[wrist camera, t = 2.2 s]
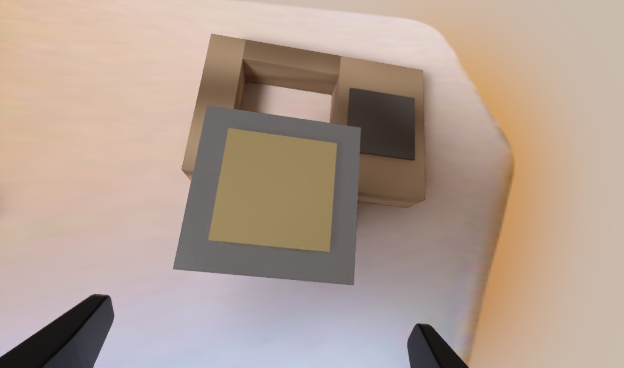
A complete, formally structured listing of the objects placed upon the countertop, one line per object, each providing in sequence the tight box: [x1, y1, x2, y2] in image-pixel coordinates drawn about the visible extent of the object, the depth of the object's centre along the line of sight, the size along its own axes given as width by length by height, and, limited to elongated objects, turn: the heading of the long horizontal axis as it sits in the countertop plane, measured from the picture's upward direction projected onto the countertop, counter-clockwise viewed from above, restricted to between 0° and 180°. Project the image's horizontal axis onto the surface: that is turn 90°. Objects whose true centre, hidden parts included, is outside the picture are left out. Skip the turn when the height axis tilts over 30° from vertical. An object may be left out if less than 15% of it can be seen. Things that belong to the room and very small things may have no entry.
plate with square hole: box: [182, 34, 425, 207], centre depth 21 cm, size 10×15×3 cm, turn 85°
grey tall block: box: [173, 105, 361, 285], centre depth 14 cm, size 4×4×12 cm
